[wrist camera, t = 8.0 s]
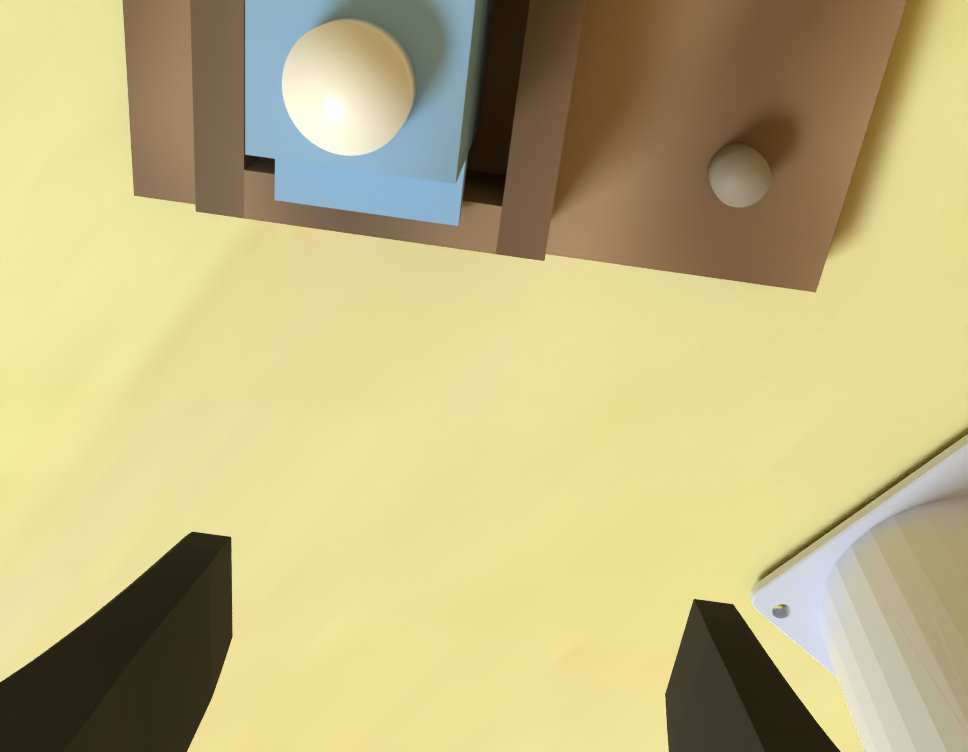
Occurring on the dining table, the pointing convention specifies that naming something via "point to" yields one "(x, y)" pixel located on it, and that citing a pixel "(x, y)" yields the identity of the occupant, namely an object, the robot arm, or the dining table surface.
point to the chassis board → (573, 130)
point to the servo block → (367, 101)
